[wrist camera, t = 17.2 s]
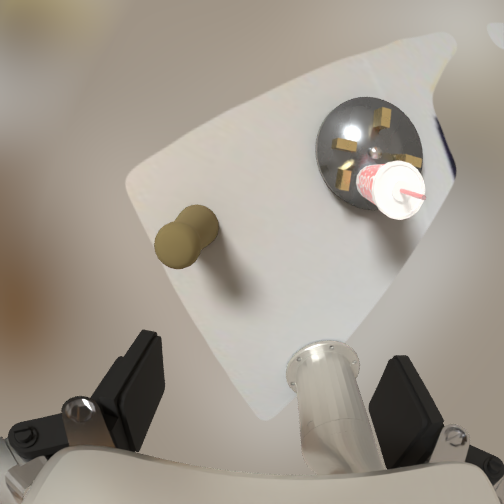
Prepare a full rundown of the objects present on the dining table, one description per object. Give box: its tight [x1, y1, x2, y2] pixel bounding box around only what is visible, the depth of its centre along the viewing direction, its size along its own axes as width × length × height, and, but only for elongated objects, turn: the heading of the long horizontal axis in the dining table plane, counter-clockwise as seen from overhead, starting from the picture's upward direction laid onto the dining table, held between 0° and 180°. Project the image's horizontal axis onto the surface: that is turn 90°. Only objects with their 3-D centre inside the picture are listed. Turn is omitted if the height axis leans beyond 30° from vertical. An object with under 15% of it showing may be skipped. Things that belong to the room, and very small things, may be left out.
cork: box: [154, 205, 219, 269], centre depth 35 cm, size 6×6×11 cm
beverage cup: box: [356, 161, 426, 220], centre depth 29 cm, size 6×6×14 cm
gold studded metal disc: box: [316, 97, 423, 210], centre depth 34 cm, size 15×15×5 cm
